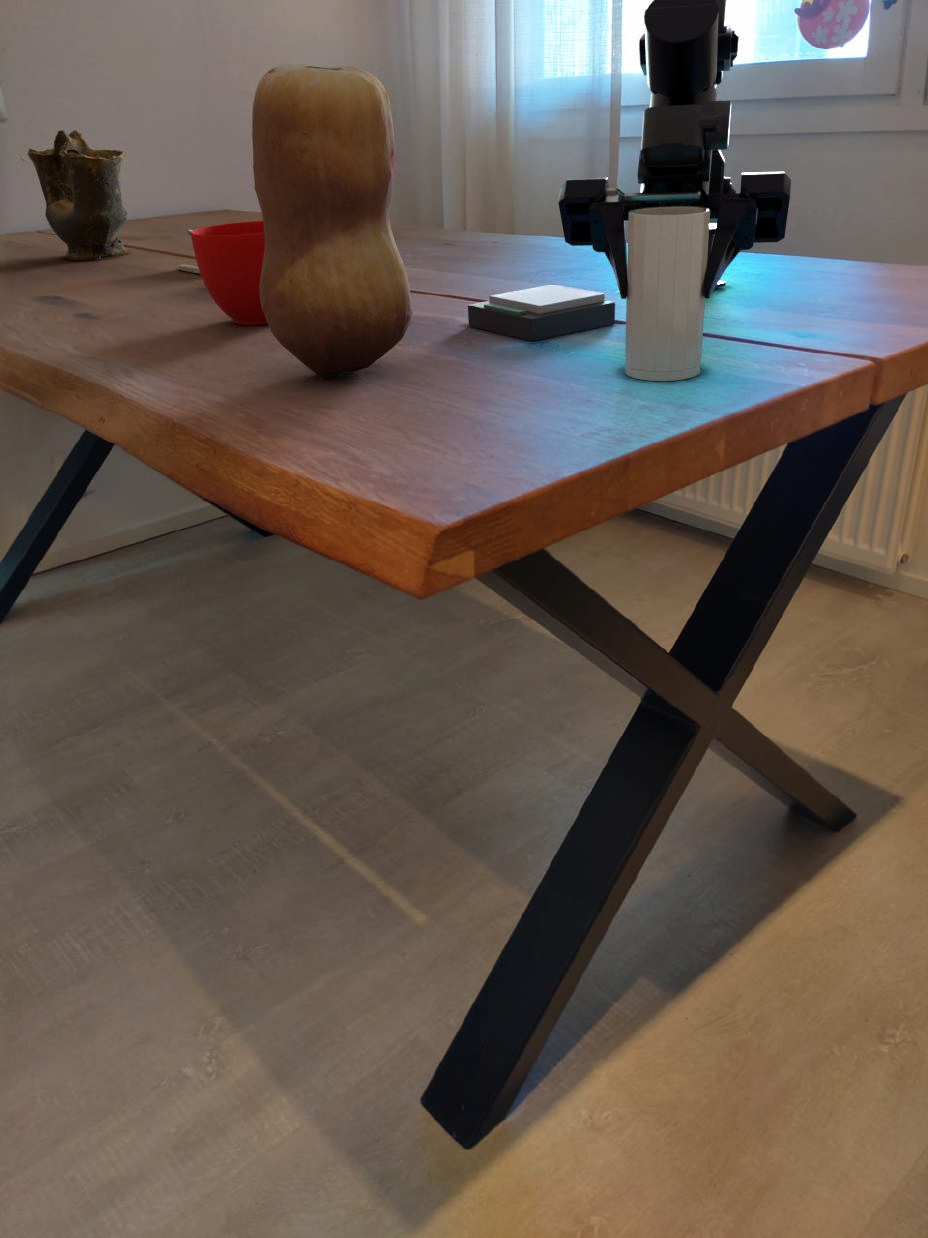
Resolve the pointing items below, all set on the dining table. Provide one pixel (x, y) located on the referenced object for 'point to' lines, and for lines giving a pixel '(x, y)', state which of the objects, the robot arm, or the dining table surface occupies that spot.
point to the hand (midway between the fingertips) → (664, 295)
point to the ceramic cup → (233, 267)
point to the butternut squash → (328, 216)
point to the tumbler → (666, 292)
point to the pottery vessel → (82, 195)
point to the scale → (542, 312)
